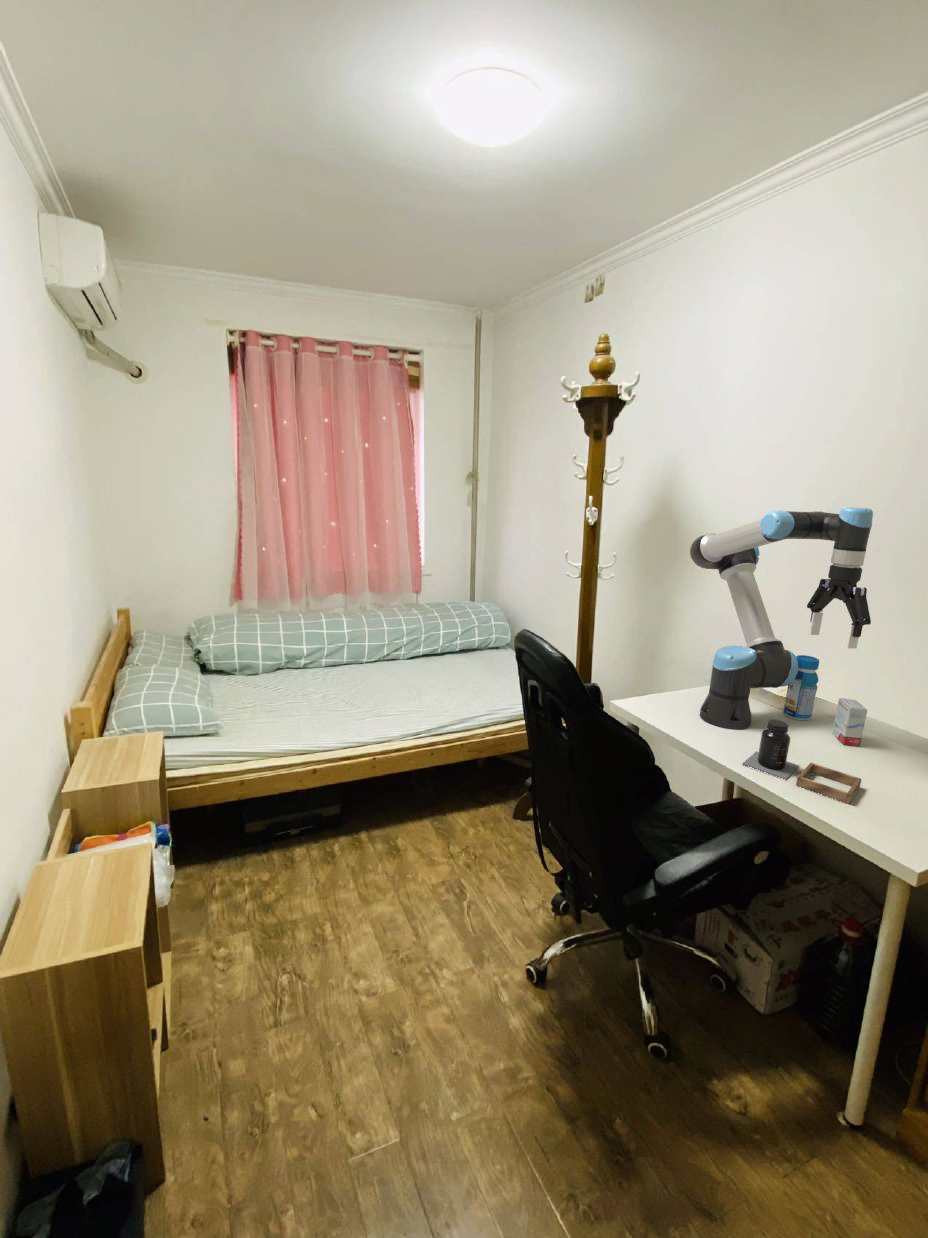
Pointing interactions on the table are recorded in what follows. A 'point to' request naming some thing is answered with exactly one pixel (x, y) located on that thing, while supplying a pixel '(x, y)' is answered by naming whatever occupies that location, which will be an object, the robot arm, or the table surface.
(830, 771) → the walnut open box
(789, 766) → the grey rubber mat
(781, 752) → the supplement bottle
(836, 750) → the table surface
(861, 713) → the ink box
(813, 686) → the beverage bottle
